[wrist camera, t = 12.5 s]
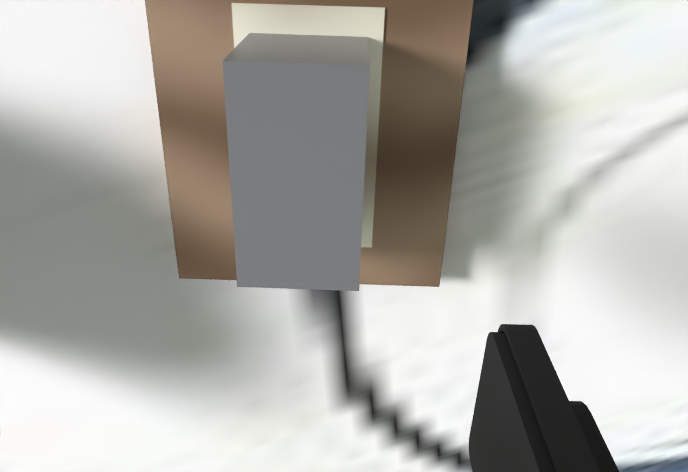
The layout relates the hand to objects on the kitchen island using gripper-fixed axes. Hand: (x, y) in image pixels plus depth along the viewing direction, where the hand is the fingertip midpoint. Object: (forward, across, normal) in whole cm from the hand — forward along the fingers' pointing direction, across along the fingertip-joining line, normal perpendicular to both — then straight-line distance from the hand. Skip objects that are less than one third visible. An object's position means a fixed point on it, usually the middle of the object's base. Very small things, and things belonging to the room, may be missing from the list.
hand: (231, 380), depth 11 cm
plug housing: (+15, 0, +1) cm, 15 cm away
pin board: (+16, 0, +1) cm, 16 cm away
